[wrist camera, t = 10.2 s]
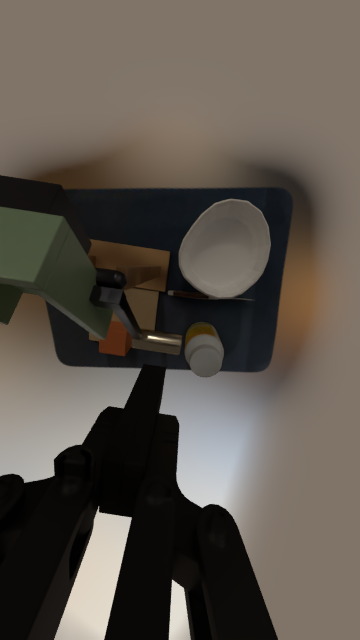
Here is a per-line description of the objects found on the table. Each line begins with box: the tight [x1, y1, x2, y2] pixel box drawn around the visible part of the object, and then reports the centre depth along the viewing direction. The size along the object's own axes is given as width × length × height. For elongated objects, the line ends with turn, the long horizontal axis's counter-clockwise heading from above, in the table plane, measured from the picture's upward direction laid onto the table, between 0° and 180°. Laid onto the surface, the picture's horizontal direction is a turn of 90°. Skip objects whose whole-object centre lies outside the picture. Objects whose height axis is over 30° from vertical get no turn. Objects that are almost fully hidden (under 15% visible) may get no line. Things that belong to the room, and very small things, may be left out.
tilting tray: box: [0, 175, 182, 355], centre depth 15 cm, size 15×16×5 cm
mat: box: [89, 288, 159, 341], centre depth 33 cm, size 10×11×1 cm
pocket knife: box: [168, 291, 250, 300], centre depth 30 cm, size 14×1×2 cm, turn 85°
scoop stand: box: [88, 239, 170, 292], centre depth 22 cm, size 6×13×18 cm, turn 82°
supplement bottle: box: [185, 322, 224, 377], centre depth 29 cm, size 5×5×10 cm
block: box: [99, 321, 132, 356], centre depth 31 cm, size 4×4×4 cm
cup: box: [179, 199, 271, 299], centre depth 25 cm, size 10×10×10 cm
